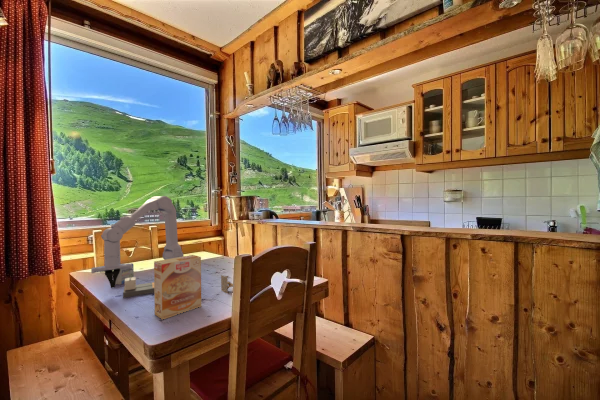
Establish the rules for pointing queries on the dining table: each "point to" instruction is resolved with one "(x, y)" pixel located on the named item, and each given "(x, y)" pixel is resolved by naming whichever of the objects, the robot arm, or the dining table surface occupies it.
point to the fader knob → (130, 283)
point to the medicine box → (124, 275)
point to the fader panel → (139, 290)
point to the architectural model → (225, 284)
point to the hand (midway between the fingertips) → (113, 287)
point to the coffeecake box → (177, 285)
